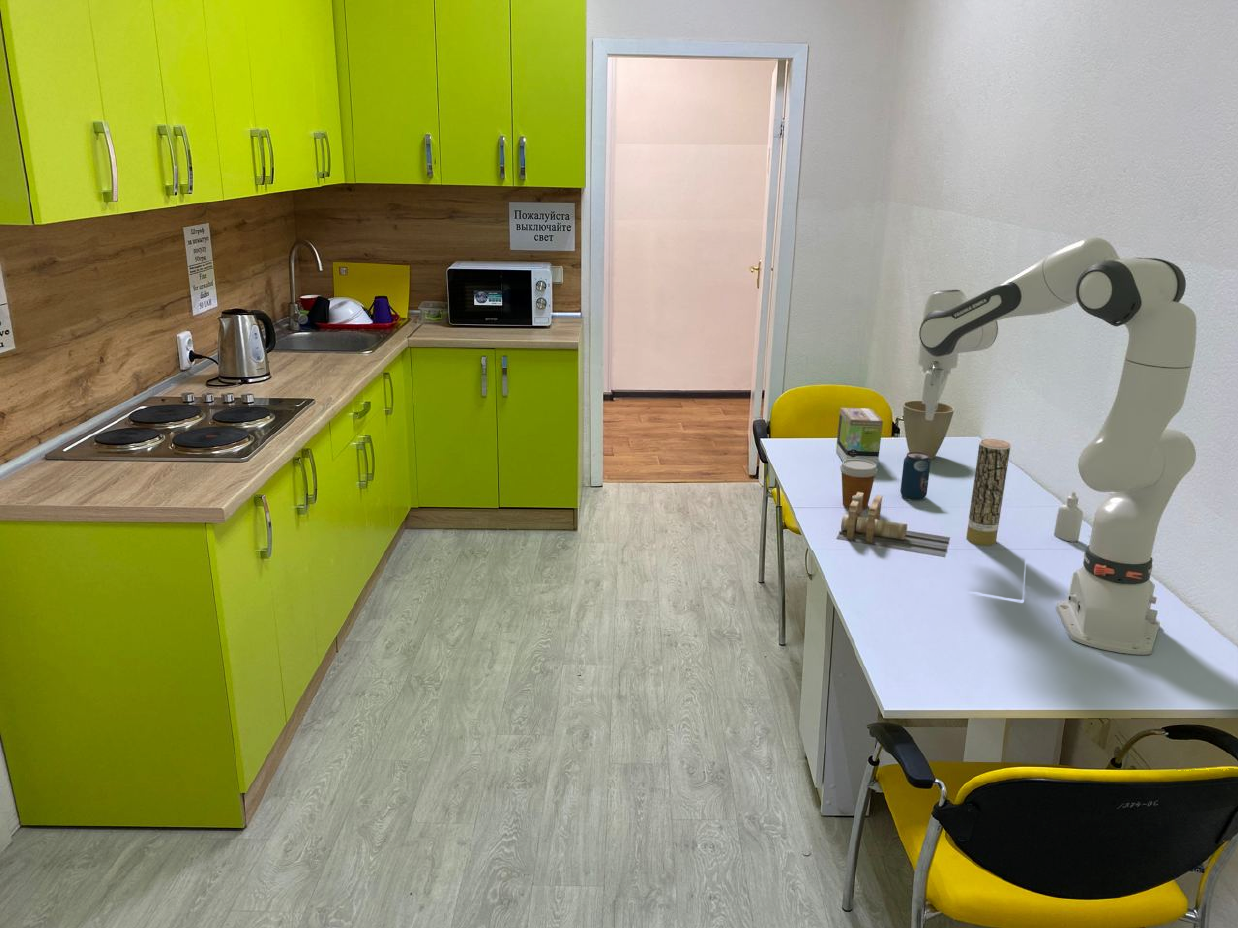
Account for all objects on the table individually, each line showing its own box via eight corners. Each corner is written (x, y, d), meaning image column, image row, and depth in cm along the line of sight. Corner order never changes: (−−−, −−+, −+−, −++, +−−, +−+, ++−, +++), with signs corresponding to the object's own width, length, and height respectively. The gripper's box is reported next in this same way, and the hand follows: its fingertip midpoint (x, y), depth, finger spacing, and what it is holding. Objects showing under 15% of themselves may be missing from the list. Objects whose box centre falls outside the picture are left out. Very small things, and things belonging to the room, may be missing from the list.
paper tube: (997, 549, 227) (1013, 448, 219) (967, 546, 228) (982, 446, 220) (993, 538, 233) (1007, 440, 225) (964, 535, 234) (977, 438, 226)
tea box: (878, 468, 284) (884, 420, 279) (845, 467, 284) (849, 419, 280) (867, 452, 298) (871, 407, 294) (834, 452, 298) (839, 406, 294)
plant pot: (946, 465, 287) (953, 414, 282) (895, 459, 292) (901, 409, 287) (948, 452, 300) (955, 403, 295) (900, 446, 305) (905, 398, 300)
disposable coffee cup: (859, 516, 246) (863, 472, 242) (829, 506, 252) (833, 463, 249) (880, 508, 252) (885, 465, 248) (850, 498, 258) (854, 456, 255)
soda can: (925, 502, 256) (931, 460, 252) (899, 499, 258) (903, 457, 254) (926, 494, 262) (931, 452, 259) (900, 491, 264) (905, 450, 261)
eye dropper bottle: (1068, 533, 237) (1076, 488, 233) (1080, 542, 231) (1088, 496, 228) (1051, 533, 236) (1059, 488, 233) (1062, 542, 231) (1071, 496, 227)
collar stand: (944, 559, 220) (949, 520, 217) (835, 541, 230) (839, 503, 227) (949, 539, 232) (954, 502, 229) (846, 523, 241) (849, 486, 238)
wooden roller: (905, 537, 231) (907, 521, 230) (903, 542, 228) (905, 527, 226) (843, 527, 237) (845, 512, 236) (840, 532, 233) (842, 517, 232)
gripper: (948, 368, 215) (941, 427, 219) (955, 351, 233) (948, 406, 237) (919, 365, 217) (912, 423, 221) (928, 349, 235) (921, 404, 239)
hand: (931, 414), depth 229 cm, fingers open, 8 cm apart
